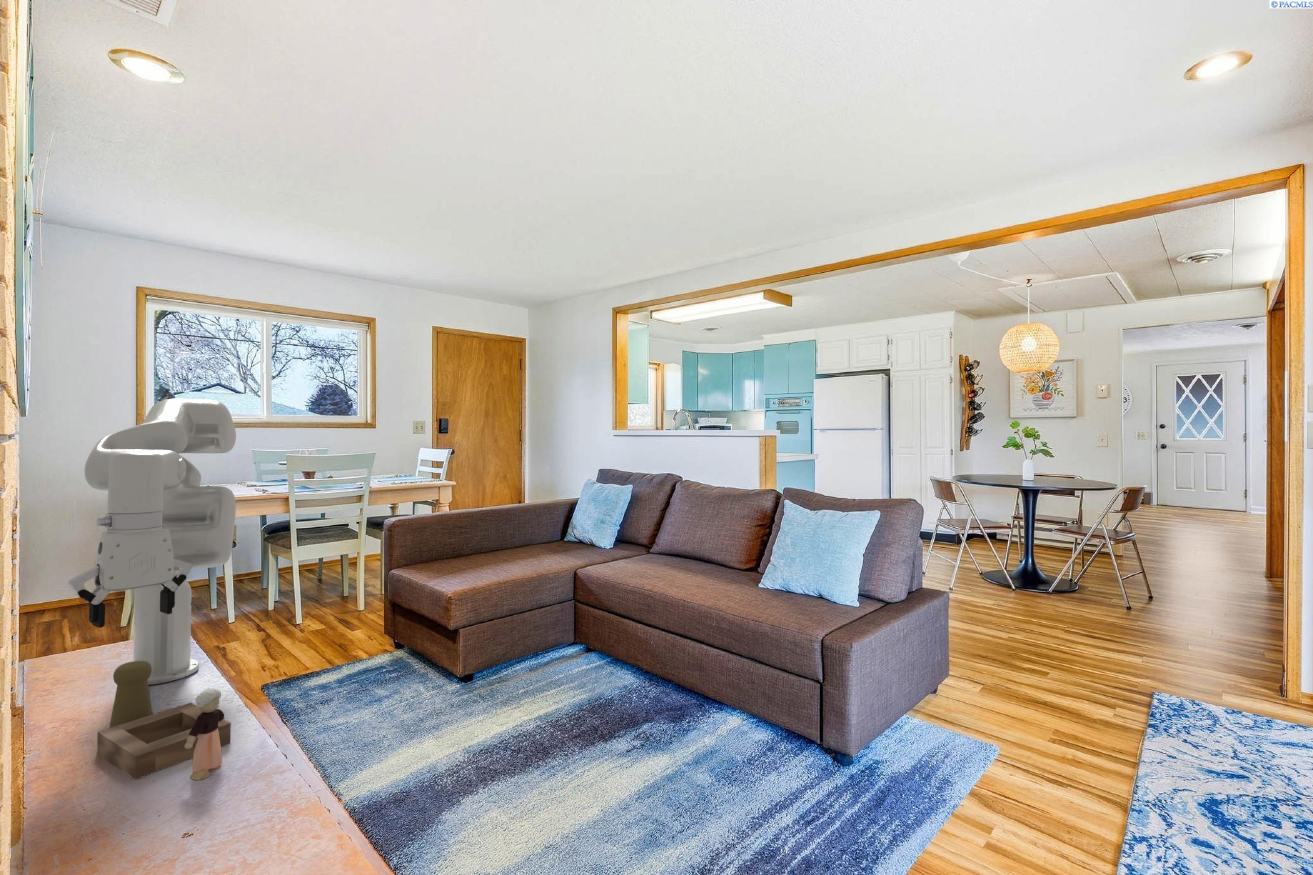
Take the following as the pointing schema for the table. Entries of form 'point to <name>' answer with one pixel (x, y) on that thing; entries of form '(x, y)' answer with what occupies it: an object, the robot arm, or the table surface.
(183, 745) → the socket block
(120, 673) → the cork
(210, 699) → the grandmother figurine
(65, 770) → the table surface
